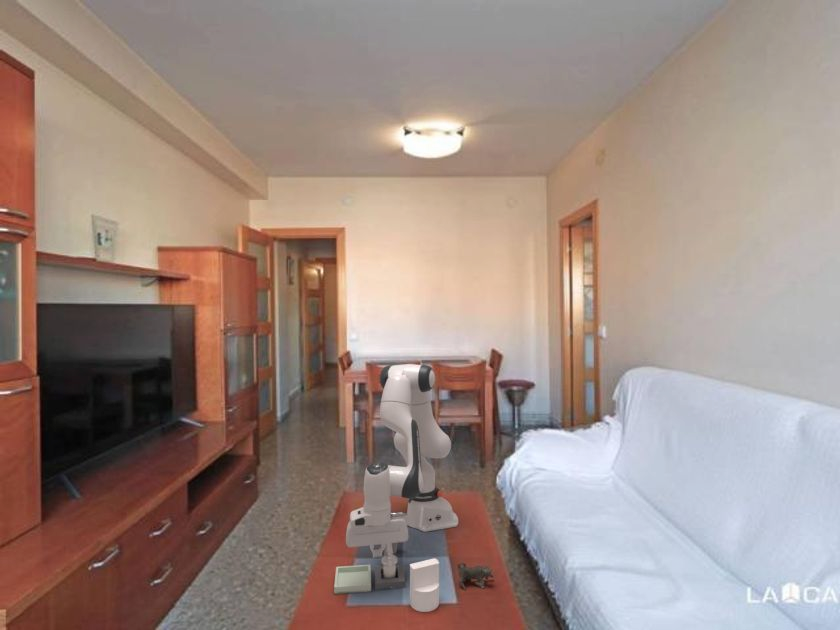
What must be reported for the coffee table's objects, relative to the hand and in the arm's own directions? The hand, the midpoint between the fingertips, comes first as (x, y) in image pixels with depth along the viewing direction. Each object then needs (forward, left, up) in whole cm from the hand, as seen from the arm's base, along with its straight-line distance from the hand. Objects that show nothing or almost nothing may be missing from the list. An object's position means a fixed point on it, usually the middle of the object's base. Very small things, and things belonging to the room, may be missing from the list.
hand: (377, 556), depth 150 cm
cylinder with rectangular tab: (-14, +10, -10) cm, 20 cm away
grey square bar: (-4, -5, -2) cm, 7 cm away
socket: (-4, -6, -9) cm, 12 cm away
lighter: (-7, -20, -10) cm, 23 cm away
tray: (+8, -3, -10) cm, 13 cm away
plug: (-4, -3, -10) cm, 11 cm away
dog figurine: (-32, +4, -10) cm, 34 cm away
